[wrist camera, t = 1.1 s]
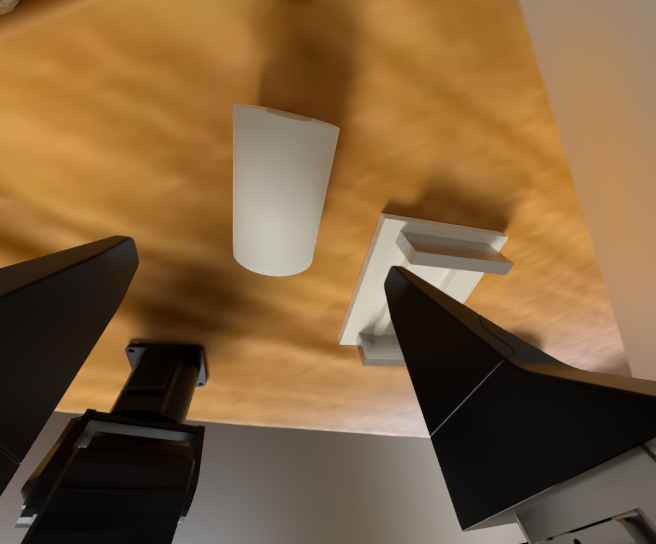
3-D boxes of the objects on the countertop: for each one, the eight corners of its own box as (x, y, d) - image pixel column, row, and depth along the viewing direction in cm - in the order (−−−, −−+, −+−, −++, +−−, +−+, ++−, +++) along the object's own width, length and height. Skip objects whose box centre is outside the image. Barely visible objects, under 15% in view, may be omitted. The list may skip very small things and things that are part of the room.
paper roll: (309, 240, 20) (315, 281, 16) (239, 231, 19) (225, 273, 14) (332, 120, 15) (349, 132, 11) (241, 98, 14) (221, 103, 10)
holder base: (429, 339, 29) (436, 353, 28) (338, 336, 27) (341, 350, 25) (500, 231, 22) (515, 242, 20) (381, 212, 19) (388, 223, 18)
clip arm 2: (481, 253, 21) (506, 275, 19) (395, 242, 20) (410, 264, 17) (487, 243, 21) (514, 264, 18) (400, 230, 19) (416, 251, 17)
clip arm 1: (424, 342, 28) (437, 366, 25) (355, 339, 26) (362, 365, 23) (428, 335, 27) (442, 360, 25) (358, 333, 25) (366, 358, 23)
